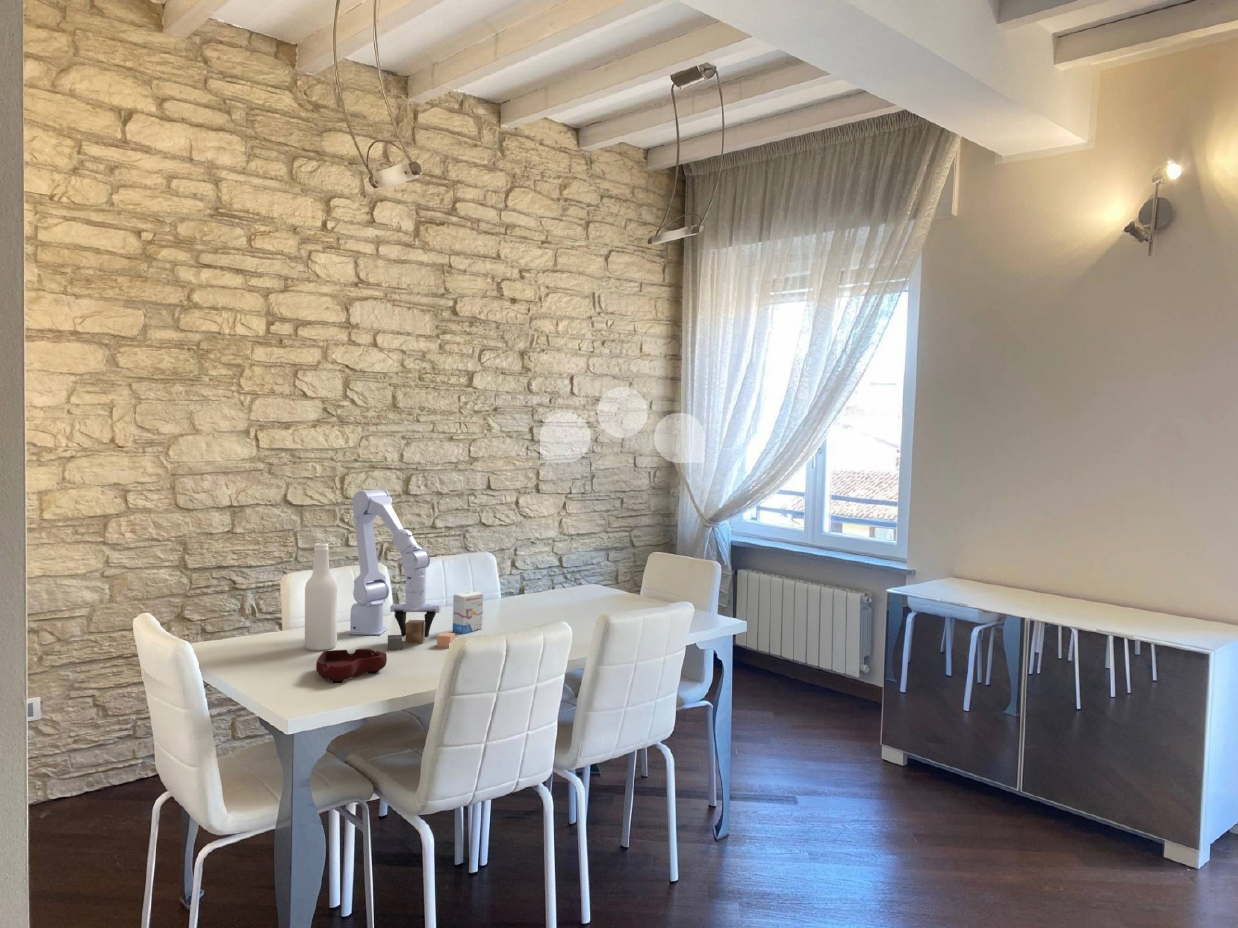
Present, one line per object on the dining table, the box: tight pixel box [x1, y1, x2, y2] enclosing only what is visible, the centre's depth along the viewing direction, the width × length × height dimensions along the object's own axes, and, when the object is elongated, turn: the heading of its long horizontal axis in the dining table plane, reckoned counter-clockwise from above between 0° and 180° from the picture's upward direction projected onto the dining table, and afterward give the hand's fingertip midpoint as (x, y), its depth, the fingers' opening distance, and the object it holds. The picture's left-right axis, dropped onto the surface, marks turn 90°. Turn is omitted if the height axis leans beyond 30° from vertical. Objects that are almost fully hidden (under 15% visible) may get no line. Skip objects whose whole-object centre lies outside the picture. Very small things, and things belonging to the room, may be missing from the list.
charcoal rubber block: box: [387, 634, 403, 651], centre depth 256 cm, size 4×4×4 cm
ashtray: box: [315, 648, 388, 684], centre depth 230 cm, size 18×16×5 cm
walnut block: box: [405, 619, 426, 645], centre depth 264 cm, size 5×5×6 cm
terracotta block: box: [436, 631, 456, 649], centre depth 260 cm, size 4×4×4 cm
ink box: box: [452, 590, 484, 634], centre depth 278 cm, size 9×5×12 cm, turn 143°
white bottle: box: [304, 542, 338, 652], centre depth 254 cm, size 9×9×30 cm
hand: (415, 636), depth 264 cm, fingers open, 6 cm apart
